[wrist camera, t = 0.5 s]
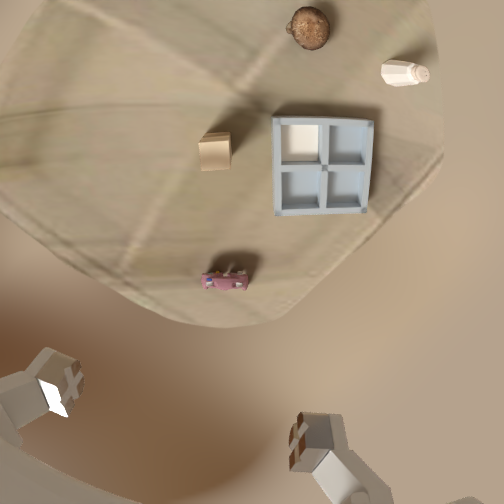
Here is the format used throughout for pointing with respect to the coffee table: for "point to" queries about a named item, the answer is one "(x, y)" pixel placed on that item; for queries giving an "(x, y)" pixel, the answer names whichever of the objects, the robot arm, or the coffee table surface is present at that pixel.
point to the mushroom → (309, 28)
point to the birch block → (215, 151)
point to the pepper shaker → (404, 73)
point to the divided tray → (321, 164)
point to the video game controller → (225, 280)
